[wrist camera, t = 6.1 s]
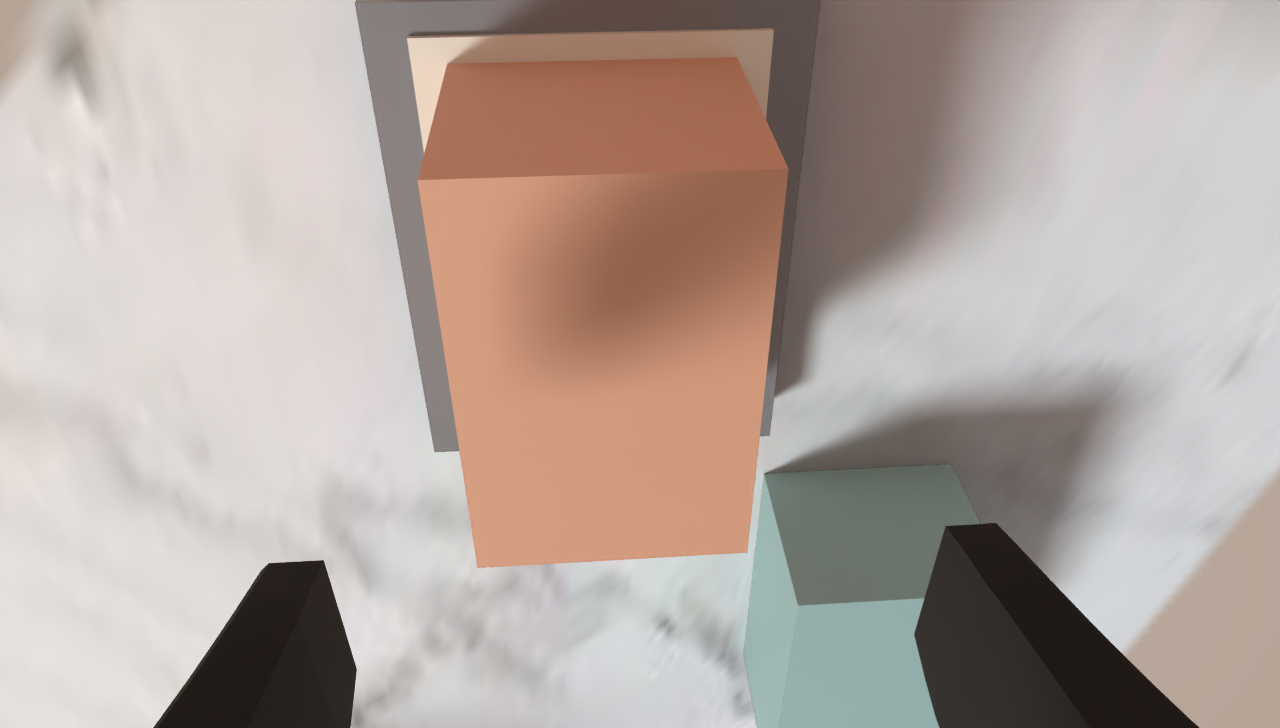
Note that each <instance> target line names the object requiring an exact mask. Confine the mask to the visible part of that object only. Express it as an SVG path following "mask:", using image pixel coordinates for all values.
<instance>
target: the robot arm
mask: <svg viewBox="0 0 1280 728" xmlns="http://www.w3.org/2000/svg"><path fill="white" fill-rule="evenodd" d="M914 636H915V640H916V644H917V648H918V652H919V656H920V660H921V665H922V669H923V673H924V677H925V681H926V684H927V688H928V692H929V695H930V699H931V702H932V706H933V710H934V713H935V717H936V720H937V723H938V725H939V728H1199V727H1198V726H1197V725H1196V724H1195V723H1193V722H1192V721H1191V720H1190V719H1189V718H1188V717H1187V716H1186V715H1185V714H1184V713H1183V712H1182V711H1181V710H1180V709H1179V708H1177V707H1176V706H1175V705H1174V704H1173V703H1172V702H1171V701H1170V700H1169V699H1168V698H1167V697H1166V696H1165V695H1164V694H1163V693H1162V692H1160V690H1159V689H1158V688H1156V687H1155V686H1154V685H1153V684H1152V683H1151V682H1150V681H1149V680H1148V679H1147V678H1146V677H1145V676H1144V675H1143V674H1142V673H1141V672H1140V671H1139V670H1138V669H1137V668H1136V667H1135V666H1134V665H1133V664H1132V663H1131V662H1130V661H1129V660H1128V659H1127V658H1126V657H1125V656H1124V655H1123V654H1122V653H1121V652H1120V651H1119V650H1118V649H1117V648H1116V647H1115V646H1114V645H1113V644H1112V643H1111V642H1110V641H1109V640H1108V639H1107V638H1106V637H1105V636H1104V635H1103V634H1102V633H1101V632H1100V631H1099V630H1098V629H1097V628H1096V627H1095V626H1094V625H1093V624H1092V623H1091V622H1090V621H1089V620H1088V619H1087V618H1086V617H1085V616H1084V615H1083V614H1082V612H1081V611H1080V610H1079V609H1078V608H1077V607H1076V606H1075V605H1074V604H1073V603H1072V602H1071V601H1070V600H1069V599H1068V598H1067V597H1066V596H1065V595H1064V594H1063V593H1062V592H1061V591H1060V590H1059V589H1058V587H1057V586H1056V585H1055V584H1054V583H1053V582H1052V581H1051V580H1050V579H1049V578H1048V577H1047V576H1046V575H1045V574H1044V573H1043V572H1042V571H1041V570H1040V569H1039V567H1038V566H1037V565H1036V564H1035V563H1034V562H1033V561H1032V560H1031V559H1030V558H1029V557H1028V556H1027V555H1026V554H1025V553H1024V552H1023V551H1022V550H1021V548H1020V547H1019V546H1018V545H1017V544H1016V543H1015V542H1014V541H1013V540H1012V539H1011V538H1010V537H1009V536H1008V535H1007V534H1006V533H1005V532H1004V531H1003V530H1002V529H1001V528H1000V527H999V526H998V525H997V524H996V523H989V524H971V525H953V526H945V529H944V533H943V536H942V540H941V543H940V547H939V550H938V553H937V557H936V560H935V564H934V567H933V571H932V574H931V578H930V581H929V584H928V588H927V591H926V595H925V598H924V602H923V605H922V609H921V612H920V616H919V619H918V622H917V626H916V629H915V633H914ZM356 671H357V669H356V665H355V662H354V659H353V656H352V652H351V649H350V646H349V642H348V639H347V636H346V633H345V629H344V626H343V623H342V619H341V616H340V613H339V609H338V606H337V603H336V600H335V596H334V593H333V590H332V586H331V583H330V580H329V577H328V573H327V570H326V567H325V563H324V560H321V561H303V562H285V563H269V564H268V565H267V566H266V567H265V568H263V569H262V570H261V572H260V573H259V575H258V576H257V578H256V579H255V581H254V582H253V584H252V586H251V587H250V589H249V590H248V592H247V593H246V595H245V596H244V598H243V599H242V601H241V602H240V604H239V605H238V607H237V609H236V610H235V612H234V613H233V615H232V616H231V618H230V619H229V621H228V622H227V624H226V625H225V627H224V628H223V630H222V631H221V633H220V634H219V636H218V637H217V639H216V640H215V642H214V643H213V645H212V646H211V647H210V649H209V650H208V652H207V653H206V655H205V656H204V658H203V659H202V660H201V662H200V663H199V665H198V666H197V668H196V669H195V671H194V672H193V674H192V675H191V676H190V678H189V679H188V681H187V682H186V683H185V685H184V686H183V688H182V689H181V690H180V692H179V693H178V695H177V696H176V697H175V699H174V700H173V701H172V703H171V704H170V706H169V707H168V708H167V710H166V711H165V712H164V714H163V715H162V717H161V718H160V719H159V721H158V722H157V723H156V725H155V726H154V728H350V726H351V718H352V708H353V699H354V689H355V680H356Z"/></svg>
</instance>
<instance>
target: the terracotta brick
mask: <svg viewBox="0 0 1280 728" xmlns="http://www.w3.org/2000/svg"><path fill="white" fill-rule="evenodd" d="M787 178H788V166H787V164H786V162H785V160H784V158H783V156H782V154H781V151H780V149H779V147H778V145H777V143H776V141H775V138H774V136H773V134H772V132H771V130H770V128H769V125H768V123H767V121H766V119H765V117H764V115H763V112H762V110H761V108H760V106H759V104H758V102H757V99H756V97H755V95H754V93H753V91H752V89H751V87H750V84H749V82H748V80H747V78H746V76H745V74H744V71H743V69H742V67H741V65H740V63H739V61H738V58H737V57H719V58H676V59H634V60H591V61H549V62H506V63H464V64H447V66H446V70H445V74H444V78H443V82H442V86H441V90H440V94H439V98H438V101H437V105H436V109H435V113H434V117H433V121H432V125H431V129H430V133H429V137H428V141H427V145H426V149H425V153H424V156H423V160H422V164H421V168H420V172H419V176H418V187H419V193H420V200H421V206H422V213H423V219H424V226H425V232H426V238H427V245H428V251H429V258H430V264H431V271H432V277H433V284H434V290H435V296H436V303H437V309H438V316H439V322H440V329H441V335H442V341H443V348H444V354H445V361H446V367H447V374H448V380H449V387H450V393H451V399H452V406H453V412H454V419H455V425H456V432H457V438H458V444H459V451H460V457H461V464H462V470H463V477H464V483H465V490H466V496H467V502H468V509H469V515H470V522H471V528H472V535H473V541H474V548H475V554H476V560H477V567H478V568H484V567H501V566H519V565H537V564H554V563H572V562H589V561H607V560H624V559H642V558H660V557H677V556H695V555H712V554H730V553H747V549H748V540H749V531H750V522H751V512H752V503H753V494H754V484H755V475H756V466H757V457H758V447H759V438H760V429H761V419H762V410H763V401H764V392H765V382H766V373H767V364H768V354H769V345H770V336H771V326H772V317H773V308H774V299H775V289H776V280H777V271H778V261H779V252H780V243H781V234H782V224H783V215H784V206H785V196H786V187H787Z"/></svg>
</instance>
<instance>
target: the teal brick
mask: <svg viewBox="0 0 1280 728" xmlns="http://www.w3.org/2000/svg"><path fill="white" fill-rule="evenodd" d="M971 524H981V522H980V520H979V518H978V516H977V514H976V512H975V510H974V508H973V506H972V504H971V502H970V500H969V498H968V496H967V494H966V492H965V490H964V488H963V486H962V484H961V482H960V480H959V478H958V476H957V474H956V472H955V470H954V468H953V466H952V464H937V465H918V466H899V467H879V468H860V469H841V470H822V471H803V472H783V473H764V477H763V486H762V495H761V503H760V512H759V521H758V530H757V538H756V547H755V556H754V565H753V573H752V582H751V591H750V600H749V608H748V617H747V626H746V635H745V643H744V652H743V656H744V662H745V667H746V672H747V677H748V683H749V688H750V693H751V699H752V704H753V709H754V714H755V720H756V725H757V728H939V725H938V723H937V720H936V717H935V713H934V710H933V706H932V702H931V699H930V695H929V692H928V688H927V684H926V681H925V677H924V673H923V669H922V665H921V660H920V656H919V652H918V648H917V644H916V640H915V636H914V633H915V629H916V626H917V622H918V619H919V616H920V612H921V609H922V605H923V602H924V598H925V595H926V591H927V588H928V584H929V581H930V578H931V574H932V571H933V567H934V564H935V560H936V557H937V553H938V550H939V547H940V543H941V540H942V536H943V533H944V529H945V526H953V525H971Z"/></svg>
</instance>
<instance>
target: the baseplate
mask: <svg viewBox="0 0 1280 728" xmlns="http://www.w3.org/2000/svg"><path fill="white" fill-rule="evenodd" d="M819 6H820V0H356V2H355V7H356V12H357V18H358V24H359V29H360V35H361V40H362V46H363V52H364V57H365V63H366V69H367V74H368V80H369V85H370V91H371V97H372V102H373V108H374V114H375V119H376V125H377V131H378V136H379V142H380V147H381V153H382V159H383V164H384V170H385V176H386V181H387V187H388V193H389V198H390V204H391V209H392V215H393V221H394V226H395V232H396V238H397V243H398V249H399V254H400V260H401V266H402V271H403V277H404V283H405V288H406V294H407V300H408V305H409V311H410V316H411V322H412V328H413V333H414V339H415V345H416V350H417V356H418V362H419V367H420V373H421V378H422V384H423V390H424V395H425V401H426V407H427V412H428V418H429V423H430V429H431V435H432V440H433V446H434V452H448V451H459V444H458V438H457V432H456V425H455V419H454V412H453V406H452V399H451V393H450V387H449V380H448V374H447V367H446V361H445V354H444V348H443V341H442V335H441V329H440V322H439V316H438V309H437V303H436V296H435V290H434V284H433V277H432V271H431V264H430V258H429V251H428V245H427V238H426V232H425V226H424V219H423V213H422V206H421V200H420V193H419V187H418V176H419V172H420V168H421V164H422V160H423V156H424V153H425V149H426V145H427V141H428V137H429V133H430V129H431V125H432V121H433V117H434V113H435V109H436V105H437V101H438V98H439V94H440V90H441V86H442V82H443V78H444V74H445V70H446V66H447V64H464V63H506V62H549V61H591V60H634V59H676V58H719V57H737V58H738V61H739V63H740V65H741V67H742V69H743V71H744V74H745V76H746V78H747V80H748V82H749V84H750V87H751V89H752V91H753V93H754V95H755V97H756V99H757V102H758V104H759V106H760V108H761V110H762V112H763V115H764V117H765V119H766V121H767V123H768V125H769V128H770V130H771V132H772V134H773V136H774V138H775V141H776V143H777V145H778V147H779V149H780V151H781V154H782V156H783V158H784V160H785V162H786V164H787V166H788V178H787V187H786V196H785V206H784V215H783V224H782V234H781V243H780V252H779V261H778V271H777V280H776V289H775V299H774V308H773V317H772V326H771V336H770V345H769V354H768V364H767V373H766V382H765V392H764V401H763V410H762V419H761V429H760V436H770V428H771V419H772V410H773V402H774V393H775V385H776V376H777V367H778V359H779V350H780V342H781V333H782V324H783V316H784V307H785V298H786V290H787V281H788V273H789V264H790V255H791V247H792V238H793V230H794V221H795V212H796V204H797V195H798V186H799V178H800V169H801V161H802V152H803V143H804V135H805V126H806V118H807V109H808V100H809V92H810V83H811V74H812V66H813V57H814V49H815V40H816V31H817V23H818V14H819Z"/></svg>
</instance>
